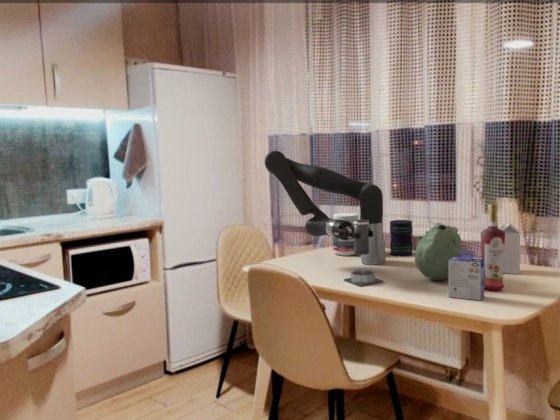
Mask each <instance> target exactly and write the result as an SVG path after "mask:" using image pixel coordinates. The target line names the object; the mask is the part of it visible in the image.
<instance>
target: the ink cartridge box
mask: <svg viewBox="0 0 560 420" xmlns="http://www.w3.org/2000/svg"><path fill="white" fill-rule="evenodd" d="M465 254H469V255H465ZM473 255H474V251H473V250H463V251H462V250H461V255H460V258H459V257H452V258H451V259H450V260H449V278H448V298H457V299H466V300H475V301H482V300H483V298H484V297H485V288H484V259H482V258H479V257H478V258H475V257H474V256H473Z"/></svg>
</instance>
